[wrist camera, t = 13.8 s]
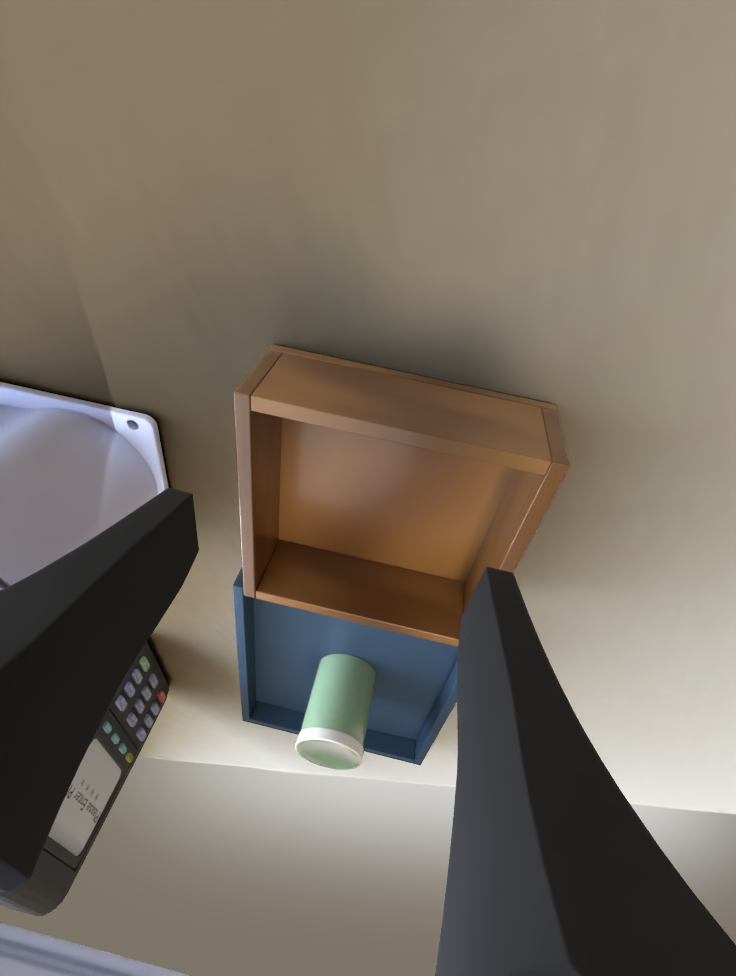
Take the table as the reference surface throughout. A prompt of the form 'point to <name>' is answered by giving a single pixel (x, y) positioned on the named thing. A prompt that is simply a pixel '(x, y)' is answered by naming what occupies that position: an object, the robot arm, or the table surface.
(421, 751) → the tray
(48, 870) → the card reader
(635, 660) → the table surface
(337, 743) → the shaker
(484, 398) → the open wooden box
